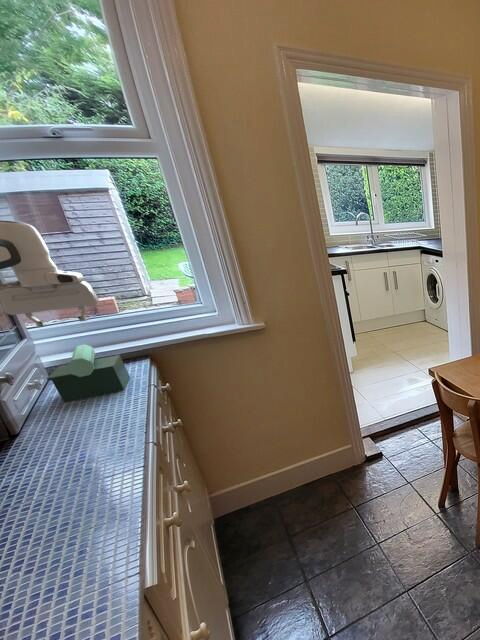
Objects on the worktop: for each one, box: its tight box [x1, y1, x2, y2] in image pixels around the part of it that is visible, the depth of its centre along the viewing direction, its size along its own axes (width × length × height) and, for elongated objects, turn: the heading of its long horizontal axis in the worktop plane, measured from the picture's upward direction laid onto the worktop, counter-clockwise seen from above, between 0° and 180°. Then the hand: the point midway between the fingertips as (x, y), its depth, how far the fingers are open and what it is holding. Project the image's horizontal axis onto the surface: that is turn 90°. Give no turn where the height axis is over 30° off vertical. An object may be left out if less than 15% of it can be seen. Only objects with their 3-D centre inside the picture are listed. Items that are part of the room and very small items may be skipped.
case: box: [51, 356, 131, 403], centre depth 136 cm, size 15×14×8 cm
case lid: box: [46, 354, 121, 382], centre depth 134 cm, size 15×14×1 cm
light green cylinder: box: [67, 343, 96, 377], centre depth 133 cm, size 6×6×25 cm
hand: (63, 323), depth 128 cm, fingers open, 8 cm apart
